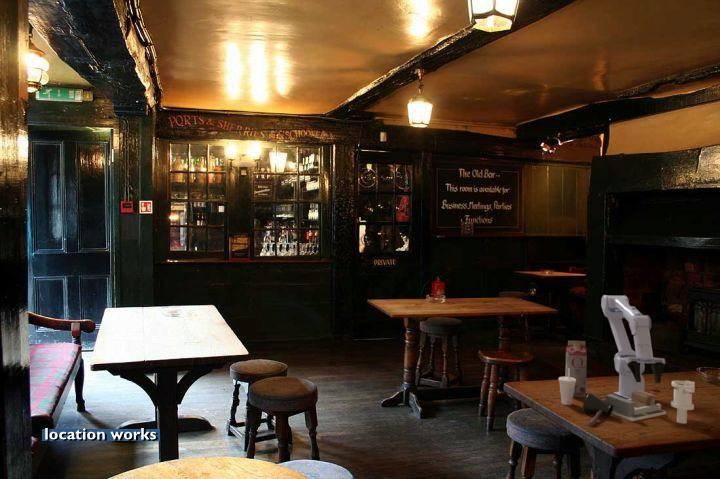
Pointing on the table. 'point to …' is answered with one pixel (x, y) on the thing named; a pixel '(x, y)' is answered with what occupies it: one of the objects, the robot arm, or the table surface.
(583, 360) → the juice carton
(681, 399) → the white stepped post
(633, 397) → the gauge slider
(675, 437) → the table surface
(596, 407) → the coffee pot
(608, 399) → the gauge base
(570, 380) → the smoothie
